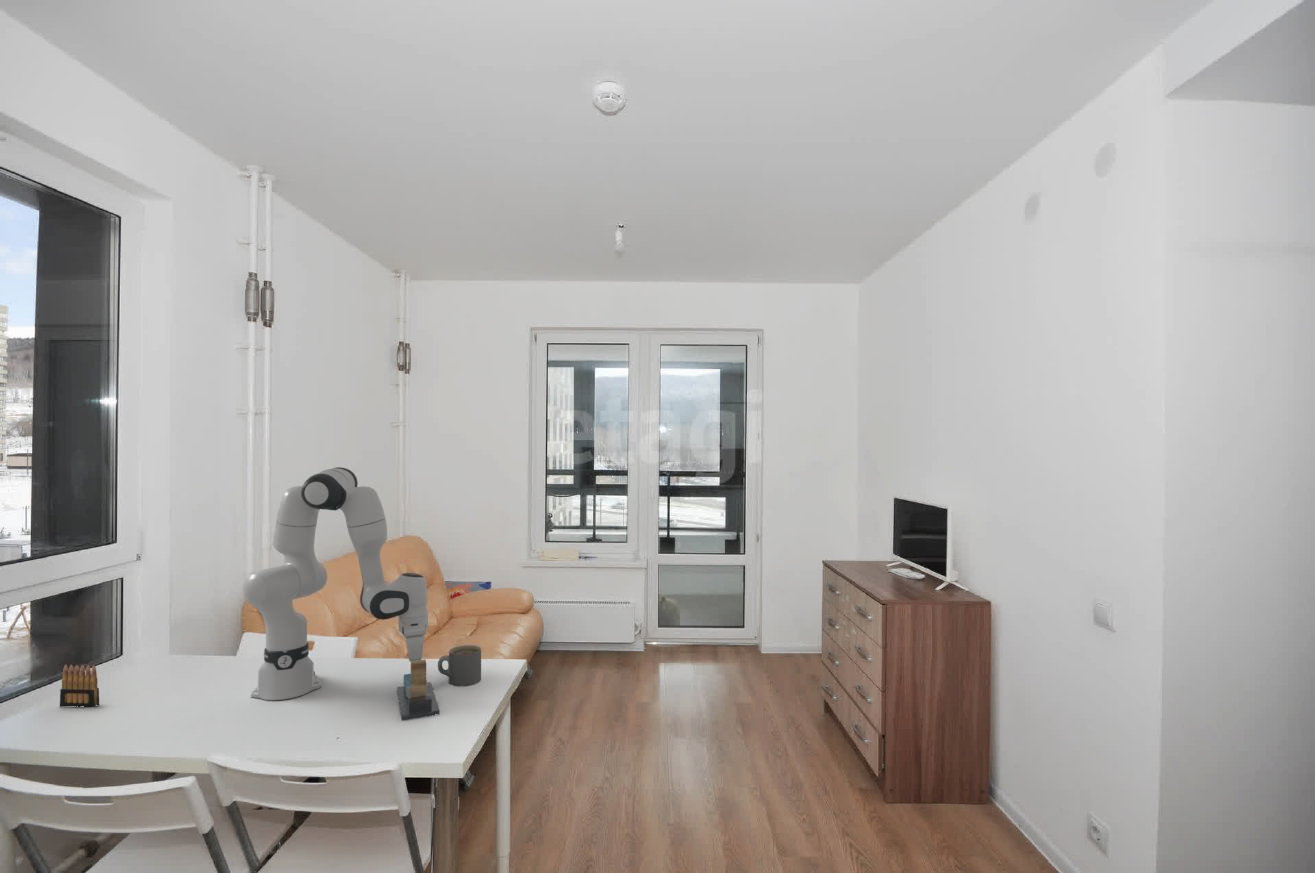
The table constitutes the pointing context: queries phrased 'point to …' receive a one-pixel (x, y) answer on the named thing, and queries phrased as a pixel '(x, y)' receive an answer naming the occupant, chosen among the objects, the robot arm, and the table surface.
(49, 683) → the table surface
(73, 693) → the ammunition clip
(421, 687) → the oak block
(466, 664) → the coffee mug
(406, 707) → the vise
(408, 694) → the block
